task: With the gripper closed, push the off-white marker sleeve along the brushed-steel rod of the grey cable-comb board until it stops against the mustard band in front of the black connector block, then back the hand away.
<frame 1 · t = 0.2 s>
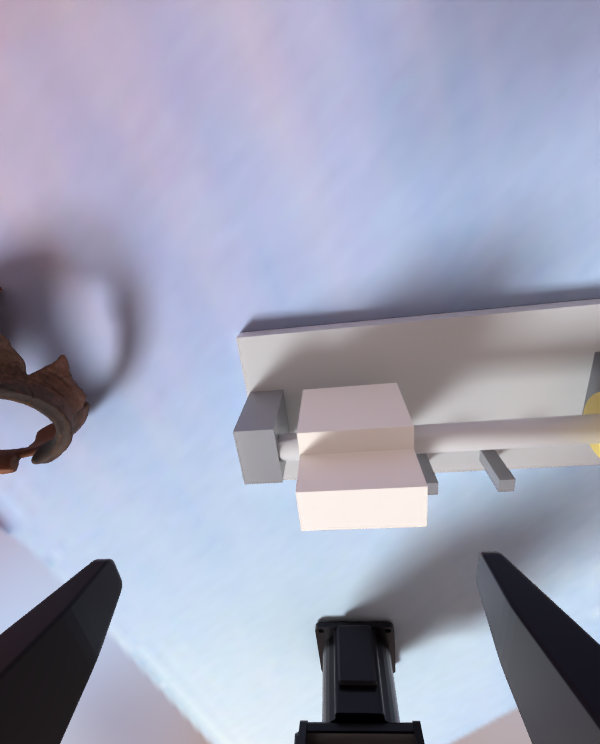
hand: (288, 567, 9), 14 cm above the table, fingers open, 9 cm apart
sleeve: (355, 457, 18), point 6 cm above the table, slide at 0.0 cm
comb board: (432, 395, 22), on the table
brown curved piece: (17, 365, 24), on the table
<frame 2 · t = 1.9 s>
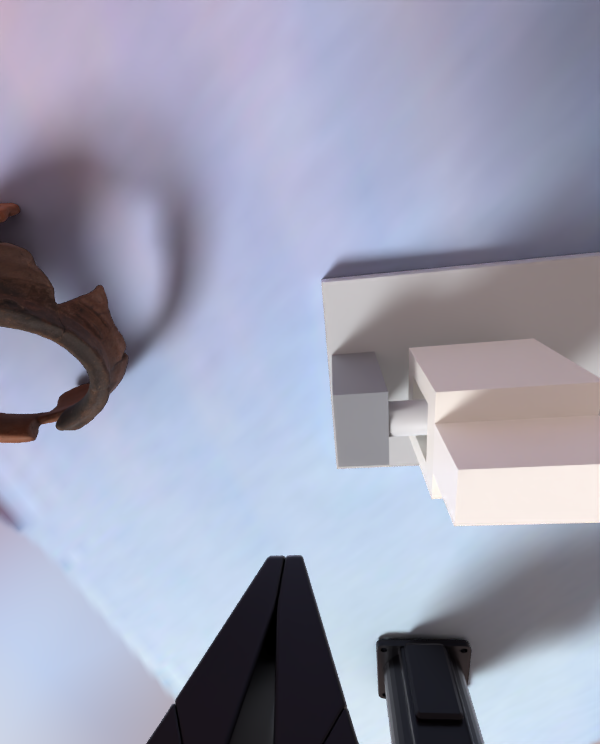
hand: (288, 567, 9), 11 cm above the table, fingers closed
sleeve: (498, 430, 13), point 6 cm above the table, slide at 0.0 cm
comb board: (557, 361, 18), on the table
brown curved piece: (36, 312, 19), on the table
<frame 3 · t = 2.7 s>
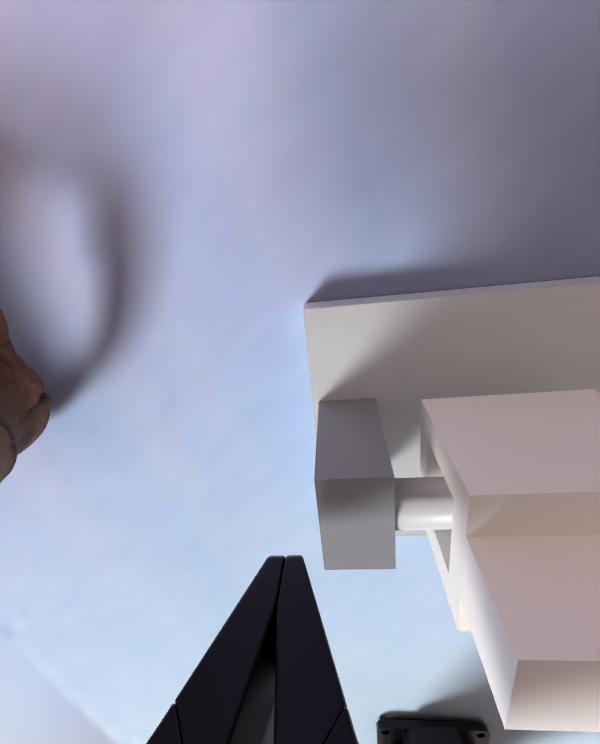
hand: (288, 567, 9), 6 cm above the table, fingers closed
sleeve: (556, 534, 9), point 6 cm above the table, slide at 0.0 cm
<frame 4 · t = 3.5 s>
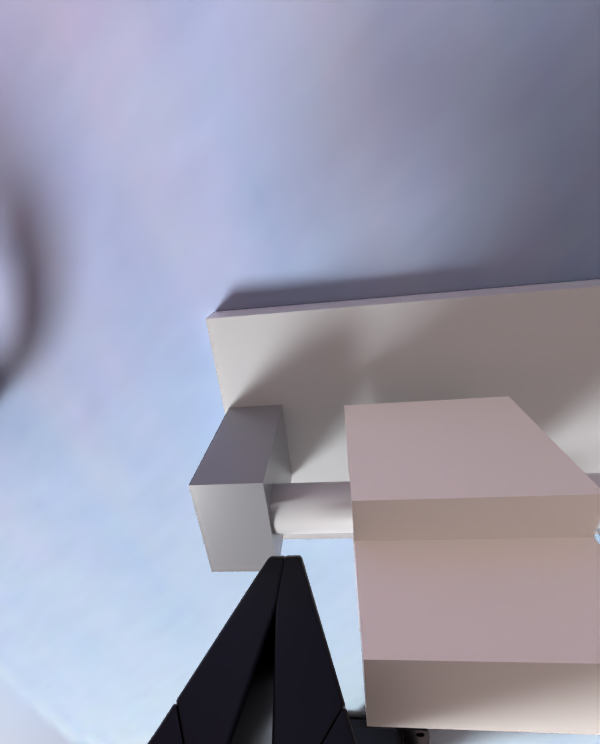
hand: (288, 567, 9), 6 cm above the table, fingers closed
sleeve: (453, 538, 9), point 6 cm above the table, slide at 0.9 cm, touching gripper
comb board: (517, 416, 14), on the table
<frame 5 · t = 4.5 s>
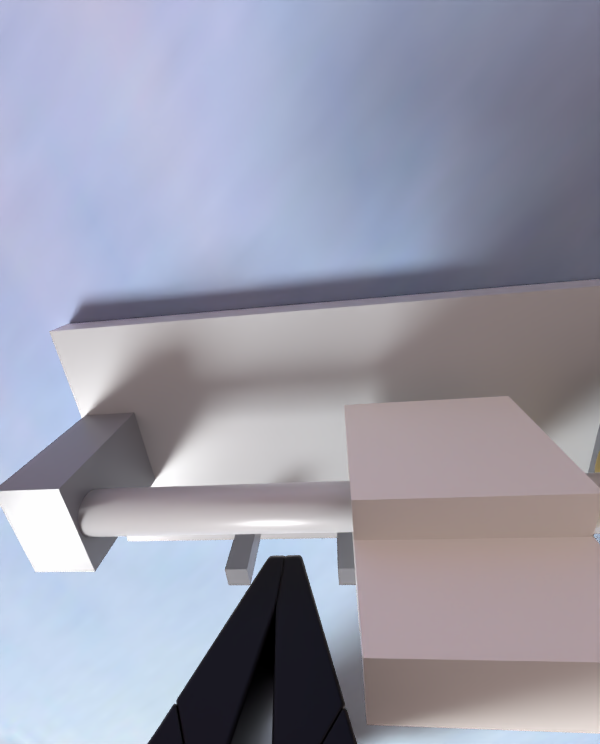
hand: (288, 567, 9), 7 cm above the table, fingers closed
sleeve: (453, 537, 9), point 6 cm above the table, slide at 6.7 cm, touching gripper
comb board: (365, 423, 15), on the table
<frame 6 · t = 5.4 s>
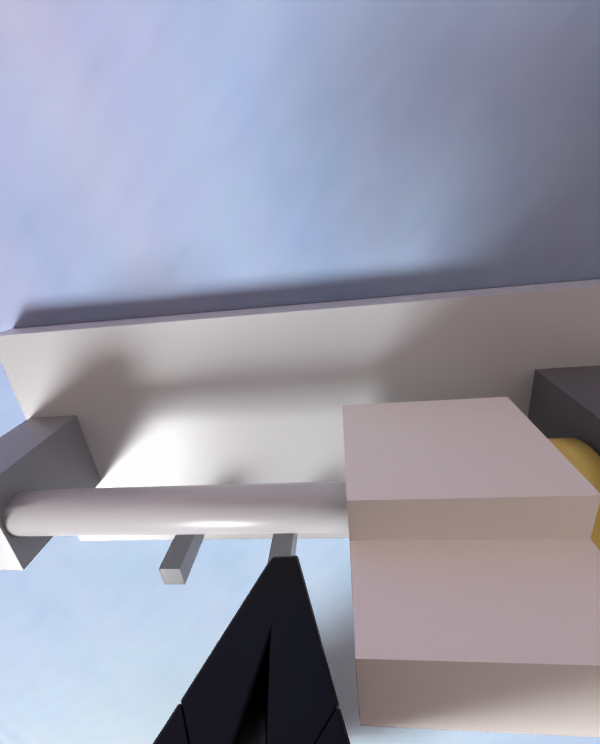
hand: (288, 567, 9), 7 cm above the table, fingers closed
sleeve: (450, 538, 9), point 6 cm above the table, slide at 9.1 cm, touching gripper
comb board: (304, 426, 15), on the table
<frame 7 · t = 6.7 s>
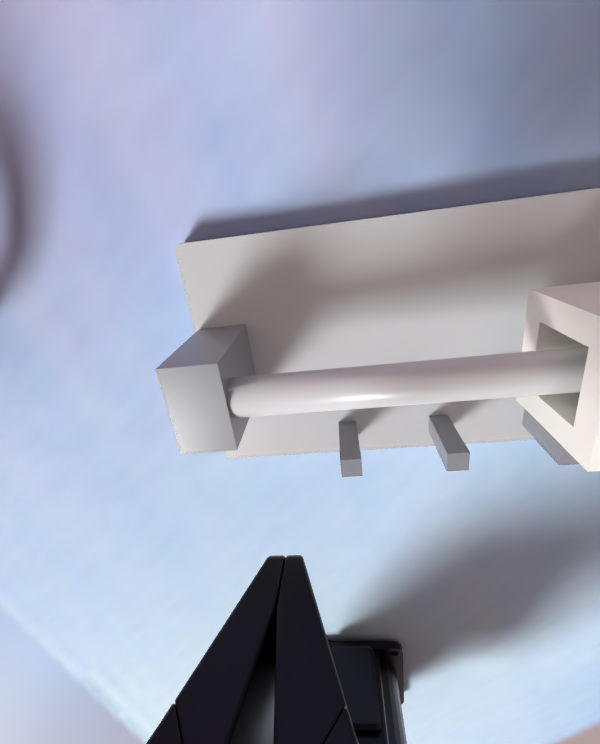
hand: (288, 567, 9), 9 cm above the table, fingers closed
comb board: (457, 332, 16), on the table
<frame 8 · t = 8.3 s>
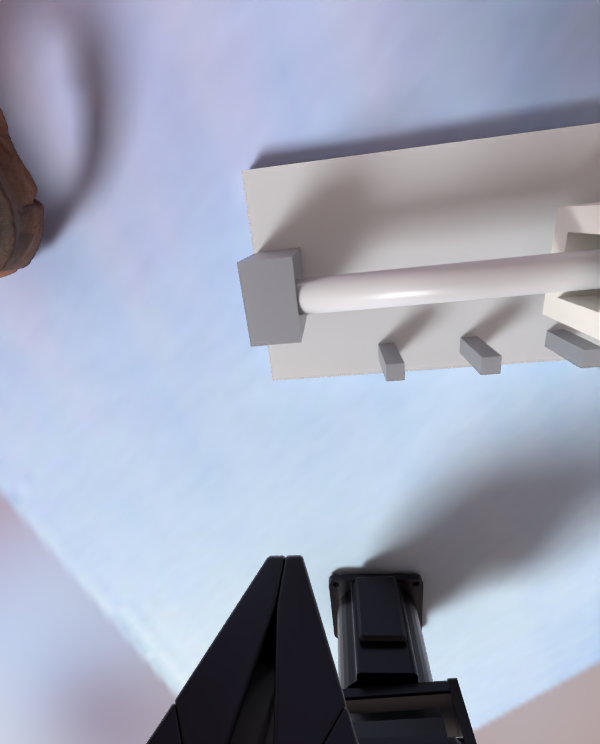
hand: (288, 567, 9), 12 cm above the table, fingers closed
comb board: (488, 260, 18), on the table
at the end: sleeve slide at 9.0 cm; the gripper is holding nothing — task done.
